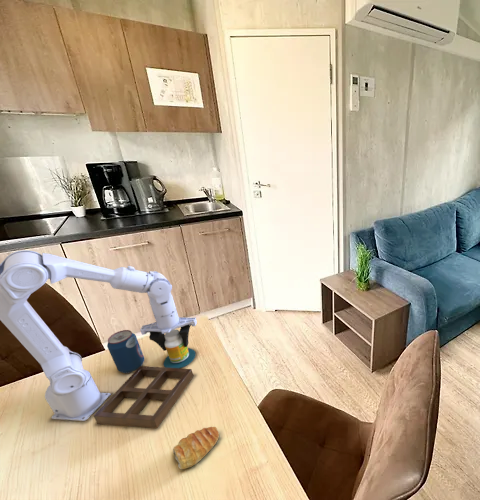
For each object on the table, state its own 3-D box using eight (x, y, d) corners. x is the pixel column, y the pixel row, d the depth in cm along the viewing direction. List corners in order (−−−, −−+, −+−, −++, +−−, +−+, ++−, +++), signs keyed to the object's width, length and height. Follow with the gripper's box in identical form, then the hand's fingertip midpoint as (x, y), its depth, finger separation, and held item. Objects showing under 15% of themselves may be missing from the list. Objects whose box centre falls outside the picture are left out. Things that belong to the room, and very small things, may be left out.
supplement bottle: (185, 362, 89) (177, 338, 85) (167, 364, 89) (158, 340, 85) (191, 350, 94) (184, 326, 90) (174, 352, 94) (166, 328, 89)
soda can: (150, 362, 90) (139, 332, 85) (127, 378, 85) (113, 347, 80) (137, 355, 93) (125, 326, 88) (113, 370, 87) (99, 340, 82)
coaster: (157, 369, 88) (157, 368, 88) (175, 348, 96) (175, 347, 96) (185, 370, 87) (185, 370, 87) (201, 349, 96) (200, 348, 95)
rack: (97, 423, 72) (92, 415, 71) (143, 373, 86) (140, 365, 85) (157, 428, 71) (154, 420, 70) (193, 376, 86) (191, 368, 84)
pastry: (212, 424, 72) (209, 414, 70) (225, 443, 68) (222, 433, 66) (171, 454, 65) (167, 443, 64) (183, 476, 61) (179, 466, 60)
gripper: (131, 324, 79) (145, 360, 84) (189, 315, 82) (198, 350, 88) (140, 309, 85) (153, 344, 90) (193, 301, 89) (202, 335, 94)
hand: (176, 346), depth 90 cm, fingers closed on supplement bottle, 5 cm apart
